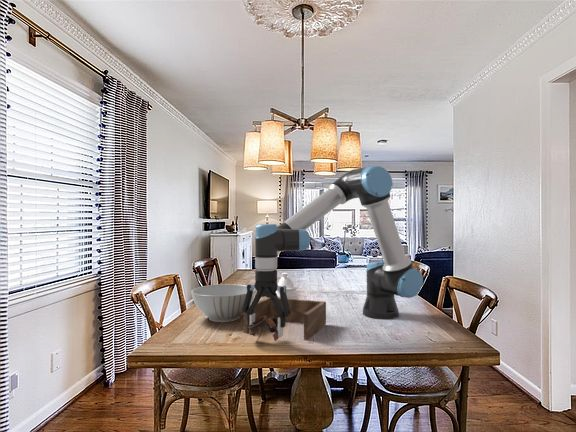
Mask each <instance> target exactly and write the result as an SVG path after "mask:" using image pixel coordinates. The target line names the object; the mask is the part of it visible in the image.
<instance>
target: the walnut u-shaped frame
mask: <svg viewBox="0 0 576 432" xmlns="http://www.w3.org/2000/svg"><path fill="white" fill-rule="evenodd" d="M278 299H279V301H280V303H281V305H282V301H281V298H278ZM288 303H289V307H290V311H291V315H289V316H288V317H286V322H288V323H296V322H297V323H298V324H303V341H309V340H311V338H313V337H314V336H315V335H316V334H317V333H318V332H319V331H321V330H322V329H323V328H324V327H325V326H326V324H327V314H326V313H327V302H326V301H322V300H320V301H319V300H310V299H309V300H307V299H300V298H299V299H288ZM249 307H250V306H249ZM282 307H283V305H282ZM253 313H255V321H256V320H257V319H259V318H261V317H263V316H267V318H268V319H269V318H270V317H275V318H276V319H277V320H278V318H279V317H280V316H279V314H278V312H277V310H276V308H275V306H274V304H273V302H272V300H271V299H270V297H269V298H268V297H264V298H263V299H260V300H259V302H258V304H257V306H256V308H255V309H254V311H253ZM253 313H252V314H253ZM249 326H250V324H248V322H247V313H245V312H244V313H243V333H244V334H245V333H246V334H248V333H250V329H249V328H248V327H249Z"/></svg>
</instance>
